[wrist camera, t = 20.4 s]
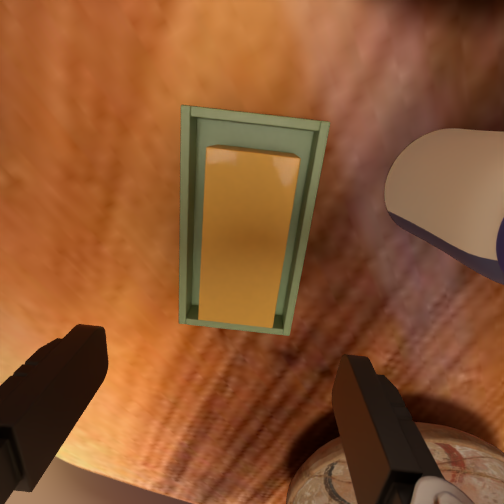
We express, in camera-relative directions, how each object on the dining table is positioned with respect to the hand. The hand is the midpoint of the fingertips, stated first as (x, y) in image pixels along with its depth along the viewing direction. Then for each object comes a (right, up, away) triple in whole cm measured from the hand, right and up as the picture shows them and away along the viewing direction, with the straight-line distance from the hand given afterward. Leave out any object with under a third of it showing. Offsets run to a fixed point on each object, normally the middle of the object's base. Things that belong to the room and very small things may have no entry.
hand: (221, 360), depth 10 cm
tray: (+1, +6, +13) cm, 14 cm away
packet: (+1, +5, +13) cm, 14 cm away
